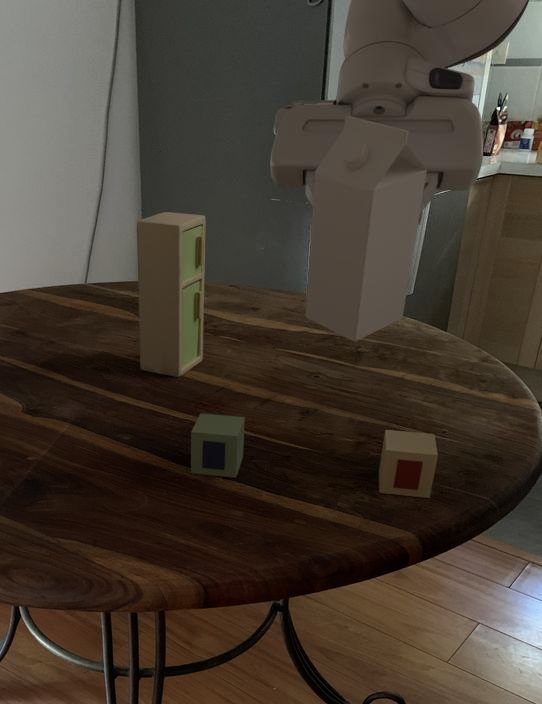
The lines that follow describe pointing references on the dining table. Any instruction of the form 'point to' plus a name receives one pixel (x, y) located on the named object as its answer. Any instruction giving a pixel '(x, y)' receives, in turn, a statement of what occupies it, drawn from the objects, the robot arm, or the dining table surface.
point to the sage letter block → (217, 445)
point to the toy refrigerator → (171, 291)
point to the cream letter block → (407, 463)
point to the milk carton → (363, 229)
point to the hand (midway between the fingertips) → (366, 219)
